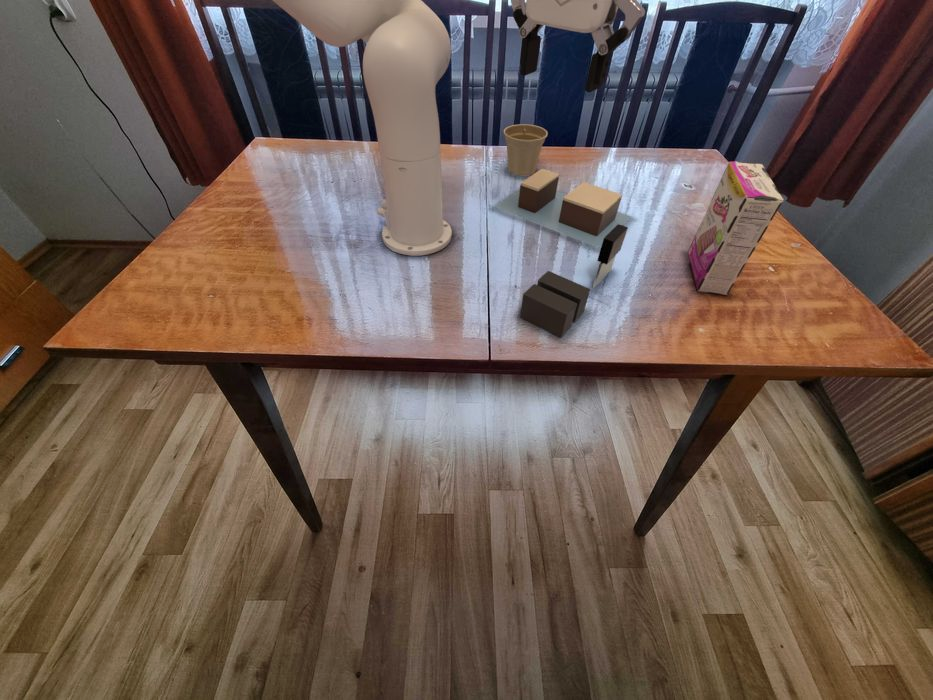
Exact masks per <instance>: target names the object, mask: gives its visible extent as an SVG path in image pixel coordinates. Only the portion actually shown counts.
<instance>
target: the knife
mask: <svg viewBox="0 0 933 700" xmlns="http://www.w3.org/2000/svg"><path fill="white" fill-rule="evenodd" d="M628 228H629V227H627V226H625V225H620V224H618V225H617V226H616V227H615V228H614V229H613V230H612V231H611V232H610V233H609V234H607V235H606V236H605V237H604V239H603V243H602V246H601V247H600V250H599V253H598V257H597V262H599V264H598V267H597V270H596V274H595V277H594V281H593V285H592V288H593V289H595V288H596V287H597V286H598V285H599V284H601V282H602V281H603V279H605V277H607V275H608V274H609V273H610V272H611V271H612V268H613V265H614V262H615V259H616V256H617V254H618V253H619V252H620V251H621V250H622V247H623V244H624V240H625V238H626V235H627V232H628Z"/></svg>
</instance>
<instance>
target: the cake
mask: <svg viewBox="0 0 933 700" xmlns="http://www.w3.org/2000/svg"><path fill="white" fill-rule="evenodd" d="M622 198H623V194H622V193H620V192H619V193H618V192H616V191H613V190H611V189H607V188H603V187H600V186H598V185H594V184H591V183H588V182H585V181H583V182H581V183H580V184H579V185H578V186H576V187H575V188H573V189H572V190H571V191H570V192H569V193H567V195H566V196H565V197H563V202H562V207H561V212H560V217H559V223H562V224H565V225H567V226H570V227H573V228H575V229H578V230H581V231H583V232H586V233H589V234H591V235H594V236H598V235H599V234H600V233H601V232H602V231H603V230H604V229H605V228H606V227H607V226H608V225H609V224H610V223H611V222H613V221H614V220H615V218H616V214H617V212H619V208H620V206H621V205H620V204H621V201H622Z"/></svg>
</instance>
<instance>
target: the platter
mask: <svg viewBox="0 0 933 700" xmlns="http://www.w3.org/2000/svg"><path fill="white" fill-rule="evenodd" d="M519 193H520V189H518V190H517V191H515V192H514V193H512V194H511V195H509V196H508V197H506V198H505V199H504V200H502V201H500V202H499V203H497V204H496V205H494V206H493V207H494V208H495V209H498V210H501V211H502V212H505V213H508V214H510V215H513V216H515V217H518V218H520V219H523V220H525V221H529V222H531V223H534V224H536V225H539V226H541V227H545V228H547V229H549V230H552V231H553V232H556V233H560V234H562V235H564V236H566V237H567V236H568V237H570V238H571V239H575V240H578V241H580V242H582V243H585V244H587V245H591V246H593V247H596V248H598V249H601V246H602V243H603V239H604V237H605V236H606V235H607V234H609V233H610V232H611V231H612V230H613V229H614V228H615V227H616V226H617V225H618V224H620V225H622V226H624V224H625V223H626V222H627V221H628V220H630V218H632V216H631V215H628V214H626V213H622V212H619V211H617V214H616V218H615V220H614V221H613V222H611V223H610V224H609V225H608V226H607V227H606V228H605V229H604V230H603V231H602V232H601V233H600V234H599V235H598V236H594V235H591V234H589V233H586V232H583V231H581V230H578V229H575V228H573V227H570V226H567V225H565V224H562V223H559V217H560V212H561V207H562V202H563V197H565V196H566V195H567V194H568V193H567V194H566V193H565V192H562V191H558V190H557V191H556V196H555V199H553V200H552V201H551V202H549V203H548V204H547V205H545V206H544V207H543V208H541V209H540V210H539V211H537V212H536V213H533V212H530V211H527V210H525V209H522V208H519V207H518V202H519Z"/></svg>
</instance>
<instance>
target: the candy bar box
mask: <svg viewBox="0 0 933 700" xmlns="http://www.w3.org/2000/svg"><path fill="white" fill-rule="evenodd" d="M784 201H785V199H784V198H783V196H782V194H781V193H780V191H779V190H778V188H777V186H776V185H775V183H774V182H773V180H772V179H771V177H770V175H769V172H767V170H766V168H765V167H764V165H763V164H762V163H753V162H746V161H745V162H744V161H742V162H741V161H738V160H737V161H728V162H727V164H726V167H725V169H724V172H723V174H722V176H721V178H720V181H719V182H718V185H717V187H716V189H715V191H714V193H713V196H712V198H711V200H710V202H709V204H708V207H707V209H706V211H705V214H704V216H703V218H702V220H701V223H700V225H699V226H698V229H697V230H696V231H697V232H696V233H695V234H694V235H695V236H694V237H693V240H692V242H691V244H690V246H689V249H688V250H687V254H688V257H689V261H690V262H689V265H690V268H691V273H692V276H693V280H694V284H695V288H696V291H697V292H699V293H705V294H713V295H720V296H728V295H729V293H730V292H731V289H732V288H733V287H734V285H735V283H736V282H737V280H738V278H739V276H740V275H741V273H742V272H743V270H744V268H745V266H746V265H747V263H748V262H749V259H750V258H751V256H752V254H753V253H754V251H755V250H756V248H757V247H758V244H759V243H760V242H761V240H762V238H763V236H764V234H765V233H766V231H767V230H768V227H769V226H770V224H771V223H772V221H773V220H774V217H775V216H776V214H777V212H778V211H779V210H780V208H781V206H782V205H783V202H784Z"/></svg>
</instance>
